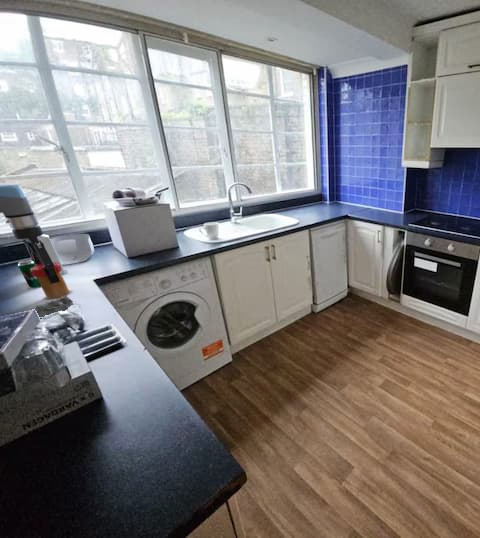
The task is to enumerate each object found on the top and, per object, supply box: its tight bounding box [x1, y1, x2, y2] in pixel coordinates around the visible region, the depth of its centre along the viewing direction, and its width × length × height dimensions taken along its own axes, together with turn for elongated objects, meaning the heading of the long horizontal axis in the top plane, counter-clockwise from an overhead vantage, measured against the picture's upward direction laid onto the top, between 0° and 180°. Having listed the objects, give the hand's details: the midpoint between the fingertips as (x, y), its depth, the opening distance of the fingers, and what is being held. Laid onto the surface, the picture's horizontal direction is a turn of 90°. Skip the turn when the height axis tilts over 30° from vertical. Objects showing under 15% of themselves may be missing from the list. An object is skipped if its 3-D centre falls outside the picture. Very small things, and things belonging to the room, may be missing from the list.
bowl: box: [50, 233, 95, 266], centre depth 162 cm, size 20×19×12 cm
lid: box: [30, 262, 61, 277], centre depth 119 cm, size 8×8×3 cm
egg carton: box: [30, 295, 74, 317], centre depth 110 cm, size 11×8×4 cm
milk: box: [37, 233, 66, 275], centre depth 141 cm, size 6×6×22 cm
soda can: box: [17, 259, 41, 289], centre depth 130 cm, size 5×5×12 cm
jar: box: [37, 272, 71, 300], centre depth 121 cm, size 7×7×12 cm
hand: (51, 280), depth 121 cm, fingers closed on lid, 8 cm apart
